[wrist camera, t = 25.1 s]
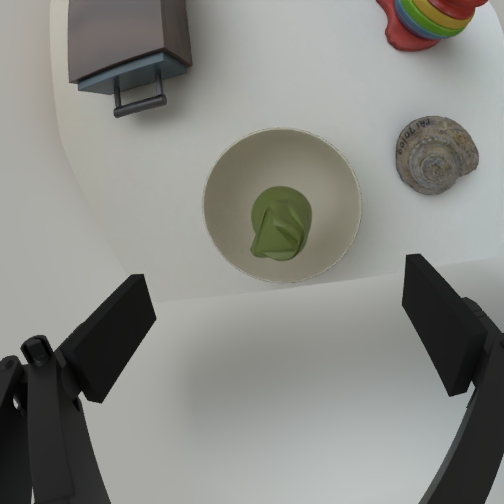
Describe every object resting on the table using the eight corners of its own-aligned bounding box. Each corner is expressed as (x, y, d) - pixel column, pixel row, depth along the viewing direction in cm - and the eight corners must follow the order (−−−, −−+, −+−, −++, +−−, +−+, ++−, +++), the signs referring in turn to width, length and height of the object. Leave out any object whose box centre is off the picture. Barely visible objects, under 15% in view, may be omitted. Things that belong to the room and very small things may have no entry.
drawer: (190, 102, 36) (167, 96, 28) (113, 122, 37) (80, 123, 30) (178, -9, 29) (157, -33, 22) (106, 16, 31) (76, 2, 24)
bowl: (236, 257, 43) (221, 291, 34) (210, 143, 38) (186, 146, 29) (350, 241, 41) (367, 271, 31) (334, 121, 35) (349, 116, 26)
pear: (296, 243, 31) (299, 290, 22) (246, 225, 31) (228, 266, 22) (317, 192, 29) (330, 219, 20) (265, 173, 29) (254, 191, 20)
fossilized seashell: (395, 109, 32) (434, 119, 26) (448, 114, 34) (484, 125, 28) (390, 188, 38) (424, 209, 32) (441, 182, 39) (474, 200, 34)
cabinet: (192, 65, 34) (164, 47, 25) (110, 89, 36) (68, 83, 27) (183, -20, 29) (158, -50, 20) (105, 8, 31) (69, -11, 22)
